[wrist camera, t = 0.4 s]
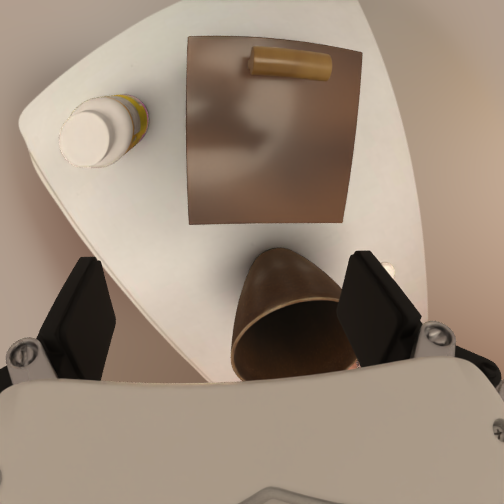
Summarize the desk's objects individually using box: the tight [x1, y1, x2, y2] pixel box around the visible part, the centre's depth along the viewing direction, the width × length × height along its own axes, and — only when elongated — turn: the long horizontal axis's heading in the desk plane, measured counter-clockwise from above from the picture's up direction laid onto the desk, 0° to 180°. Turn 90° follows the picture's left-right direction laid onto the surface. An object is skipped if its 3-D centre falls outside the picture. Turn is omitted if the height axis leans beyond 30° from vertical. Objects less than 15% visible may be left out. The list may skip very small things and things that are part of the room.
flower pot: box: [231, 248, 358, 381], centre depth 38 cm, size 15×15×16 cm
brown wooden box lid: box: [186, 36, 362, 225], centre depth 21 cm, size 15×14×5 cm
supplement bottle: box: [59, 94, 149, 168], centre depth 26 cm, size 7×7×13 cm
